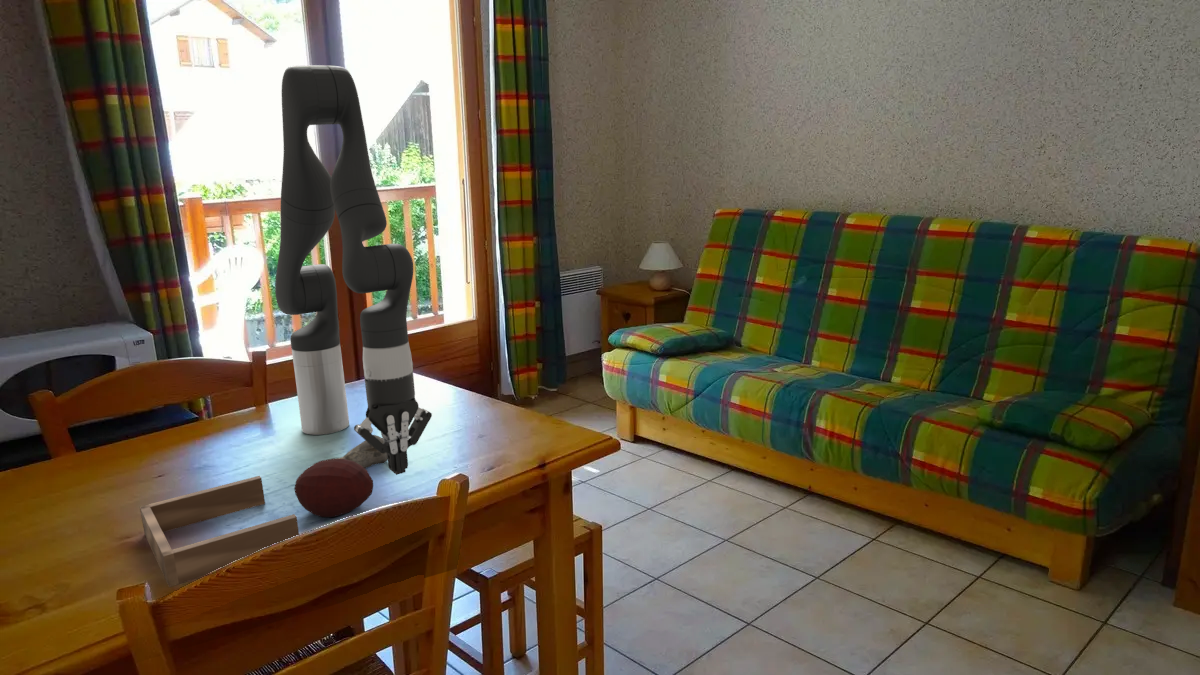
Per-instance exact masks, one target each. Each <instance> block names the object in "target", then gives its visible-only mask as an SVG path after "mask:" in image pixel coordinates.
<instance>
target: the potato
mask: <svg viewBox="0 0 1200 675" xmlns="http://www.w3.org/2000/svg"><path fill="white" fill-rule="evenodd" d="M336 458H337V457H336ZM336 458H329V459H328V458H327V459H323V460H319V461H317V462H315V463H313V464H312V465H310V466H309V467H307V468H306V469H305V470H303V471H302V472H301V474H300V475H299V476H298V477H297V479H296V481H295V484H294V488H293V490H294V493H295V496H296V498H297V501H298V502H299V504H300V505H301V507H303V508H304V510H306V511H307V512H309V513H311V514H312V515H314V516H318V517H321V518H335V517H338V516H341V515H345V514H348V513H350V512H352V511H354V510H355V509H358V508H359V507H360V506H362V504H363V503H365V502H366V501H367V500H368V499H369V498H370V496H371V495H372V493H373V490H374V480H373V479H372V477H371V475H370V473H369V471H368V470H367V468H364V467H363V466H361V465H359V464H358V463H356V462H354V461H350V460H346V459H336Z"/></svg>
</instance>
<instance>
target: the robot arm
mask: <svg viewBox="0 0 1200 675" xmlns="http://www.w3.org/2000/svg"><path fill="white" fill-rule="evenodd" d="M356 86H357V85H356V83H355V81H354V78H353V77H352V74H351V73H350V71H349V70H348V68H345V67H343V66H337V65H323V64H322V65H320V64H319V65H317V64H315V65H313V64H311V65H292V66H291V65H290V66H288V67H287V68H286V69H285V71H284V73H283V75H282V80H281V109H282V110H281V112H282V113H281V114H282V115H281V116H282V136H283V140H282V141H283V160H282V175H281V178H282V179H281V188H280V190H281V191H280V238H279V239H280V242H279V250H278V252H279V253H278V257H277V258H278V259H277V266H276V273H275V274H276V275H275V285H274V287H275V288H274V290H275V291H274V292H275V300H276V304H277V306H278V308H279V310H280V311H281V313H283V314H285V315H288V316H297V315H305V314H312V313H316V315H315V317H314V318H313V319H312V320H311V321H310V322H308V323H307V324H306V325H304V326H303V327H300V328H299V329H297V330H295V331H294V332H293V333H292V334H291V335H290V339H289V340H290V347H291V348H290V349H291V355H292V362H293V369H294V377H295V384H296V394H297V399H298V400H297V401H298V408H299V417H300V424H301V430H302V432H303V433H304V434H306V435H311V436H313V435H315V436H317V435H319V436H320V435H328V434H335V433H337V432H340V431H343V430H344V429H346V428H348V427H349V425H350V418H349V409H348V399H347V391H346V382H345V373H344V366H343V357H342V356H343V355H342V348H341V340H340V323H339V322H340V321H339V311H338V310H339V309H338V292H337V284H336V278H335V274H334V272H333V270H332V269H331V267H330V266H329V265H328V264H324V263H322V264H321V263H320V264H311V265H309V264H308V265H304V262H305V261H306V259H307V257H308V255H309V254H310V253H311V252H312V250H313V249H314V248H315V247H316V246H317V245H318V244H319V243H320V242H321V241H322V240H323V238H324V237H325V236H326V235H327V233H328V232H329V230H330V229H331V227H332V225H333V224H334V220H335V215H336V216H337V219H338V223H339V227H340V233H341V240H342V242H341V244H342V260H341V261H342V264H341V268H342V269H341V270H342V277H343V281H344V283H345V285H346V286H347V287H348V288H349V289H350V290H351V291H352V292H354V293H356V294H369V293H376V292H382V291H383V292H385V291H386V293H385V295H384V297H383V299H382V300H381V301H379V302H378V303H376V304H373V305H371V306H368V307H365V308H364V309H363V310H362V311H361V312H360V313H359V314H360V316H359V324H360V325H359V326H360V331H361V332H360V333H361V340H362V365H363V366H362V367H363V376H364V385H365V386H364V387H365V395H366V403H367V410H366V411H365V418H364V419H363V420H362V422H361V423H360V424H355V425H354V427H353V431H354V432H356V433H357V434H358V435H359V436H360V438H362V439H364V441H365V440H366V441H367V442H368V443H369V444H370V445H372V446H373V447H374V448H375V449H376V450H378V451H379V452H381V453H387V459H388V460H387V467H388V469H389V471H391V472H392V473H393V474H395V475H401V474H405V473H406V470H407V469H408V467H409V462H408V461H409V460H408V449H409V448H410V447H411V446H415V445H417V443H418V442H419V440H420V438H421V437H422V434H423V433H424V431H425V429H426V427H427V425H428V424H429V422H430V420H431V419H432V416H433V413H432V412H430V411H428V410H427V409H424V408H421V407H419V402H418V401H417V399H416V398H415V396H416V391H415V389H416V388H415V382H414V381H415V380H414V369H413V367H414V362H413V360H412V357H413V356H412V352H411V348H410V343H409V334H408V333H409V331H408V323H407V314H408V313H407V312H408V306H409V298H410V293H411V288H412V283H413V278H414V277H413V276H414V261H413V258H412V255H411V253H410V252H409V249H407V248H406V247H405V246H404V245H402V244H400V243H385V244H379V245H378V244H377V245H367V246H364V243H363V242H366V241H368V240H370V239H373V238H376V237H377V236H379V235H381V234H382V233H384V231H385V230H386V228H387V225H388V224H387V216H386V214H385V211H384V208H383V204H382V202H381V198H380V195H379V192H378V188H377V186H376V182H375V179H374V176H373V171H372V166H371V162H370V158H369V150H368V143H367V137H366V131H365V126H364V120H363V115H362V110H361V104H360V98H359V94H358V89H357V87H356ZM321 125H322V126H323V125H339V126H340V127H341V132H342V145H341V149H340V151H339V155H338V157H337V160H336V162H335V165H334V167H333V170H332V173H331V174H330V173H329V171H328V169H327V168H326V167H325V165H324V164H323V162H321V160H320V159H319V157H318V156H317V154H316V153H315V151H314V149H313V147H312V146H311V144H310V142H309V138H308V129H309V127H310V126H321ZM372 426H374V427H375V428H376V429H377V430H378V431H379V432H380V434H381V438H383V440H384V443H381V442H380V441H379V440H378V439H377V438H376V437H374V436H373V435H374V434H372V433H373V432H374V429H373V427H372Z"/></svg>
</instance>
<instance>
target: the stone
mask: <svg viewBox="0 0 1200 675" xmlns="http://www.w3.org/2000/svg"><path fill="white" fill-rule="evenodd" d="M372 435H373V436H374V437H376V438H377V439H378V440H379V441H380V442H381V443H384V440H383V437H382V436H379V435H377V434H372ZM336 459H346V460H350V461H354V462H356V463H358V464H359V465H361V466H363V467H364V468H365V469H369V468H371V467H372V466H376V465H383V464H385V463H386V462H388V459H387V453H381V452H379V451H378V450H376V449H375V448H374V447H373V446H372V445H370V444H369V443H368V442H367V441H366V440H365V439H364V440H363V441H362V442H361V443H359V444H357V445H356V446H354V447H353V448H352V449H350V450H349V451H347V453H346V454H345V455H343V456H340V457H336Z"/></svg>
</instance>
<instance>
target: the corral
mask: <svg viewBox="0 0 1200 675" xmlns="http://www.w3.org/2000/svg"><path fill="white" fill-rule="evenodd" d="M264 493H265V492H264V486H263V479H262V477H261V476H260V475H257V476H254V477H249V478H245V479H241V480H237V481H233V482H230V483H224V484H222V485H218V486H214V487H211V488H210V487H209V488H207V489H202V490H199V491H195V492H191V493H187V494H182V495H179V496H175V497H172V498H168V499H165V500H160V501H156V502H152V503H149V504H145V505H140V506H139V512H140V517H141V522H142V528H143V532H144V536H145V538H146V540H147V543H148V544H149V547H150V549H151V551H152V553H153V555H154V557H155V560H156V562H157V564H158V566H159V569H160V571H161V572H162V575H163V577H164V579H165V581H166V584H167V585H168V588H170V587H174V586H176V585H180V584H184V583H186V582H189V581H192V580H196V579H199V578H202V577H201V576H203V577H205V576H204V575H206V574H208V573H210V572H212V571H214V570H216V569H218V568H220V567H223V566H225V565H227V564H229V563H231V562H233V561H235V560H238V559H240V558H242V557H245V556H247V555H250V554H252V553H254V552H256V551H258V550H260V549H262V548H264V547H267V546H270V545H272V544H274V543H277V542H280V541H283V540H285V539H288V538H291V537H293V536H296V535H299V536H300V530H299V524H298V523H299V522H298V517H297V515H296V514H294V513H293V514H290V515H286V516H283V517H280V518H275V519H272V520H270V521H266V522H262V523H259V524H255V525H253V526H248V527H245V528H242V529H238V530H236V531H235V530H234V531H232V532H231V531H230V532H228V533H225V534H222V535H219V536H214V537H210V538H208V539H204V540H201V541H197V542H194V543H191V544H186V545H183V546H181V547H177V548H173V549H172V548H171V545H170V543H169V542H168V540H167V537H166V535H165V534H164V533H165V532H169V531H173V530H176V529H180V528H184V527H187V526H191V525H194V524H197V523H198V524H199V523H202V522H205V521H209V520H212V519H216V518H218V517H222V516H223V517H224V516H226V515H230V514H233V513H237V512H241V511H244V510H248V509H251V508H255V507H259V506H261V505H265V504H266V501H265V494H264ZM206 576H207V575H206Z"/></svg>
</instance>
